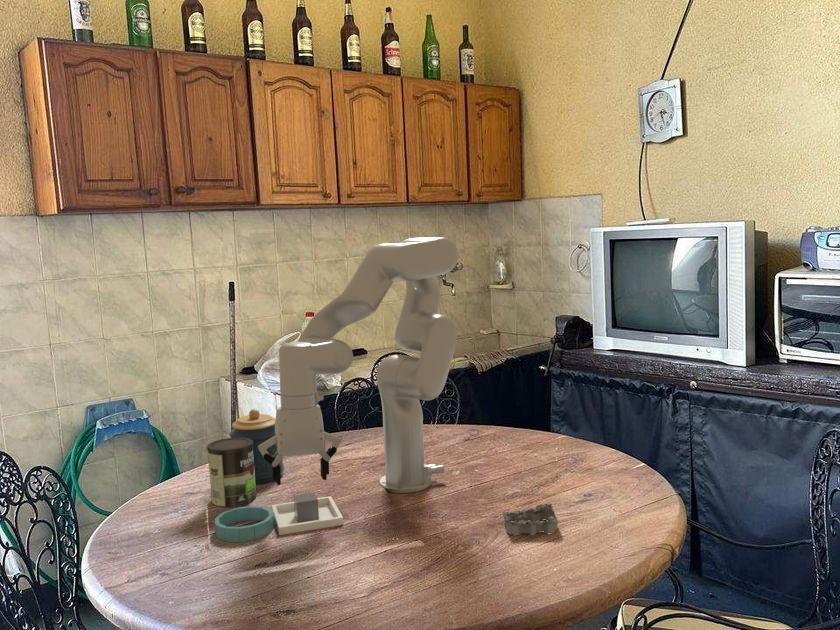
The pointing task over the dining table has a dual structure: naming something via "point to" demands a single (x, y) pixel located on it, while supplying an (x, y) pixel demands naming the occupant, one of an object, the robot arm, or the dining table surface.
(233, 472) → the coffee can
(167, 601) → the dining table surface
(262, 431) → the canister
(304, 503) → the slate block
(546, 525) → the egg carton
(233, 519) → the bowl
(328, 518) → the parts tray
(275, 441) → the robot arm
